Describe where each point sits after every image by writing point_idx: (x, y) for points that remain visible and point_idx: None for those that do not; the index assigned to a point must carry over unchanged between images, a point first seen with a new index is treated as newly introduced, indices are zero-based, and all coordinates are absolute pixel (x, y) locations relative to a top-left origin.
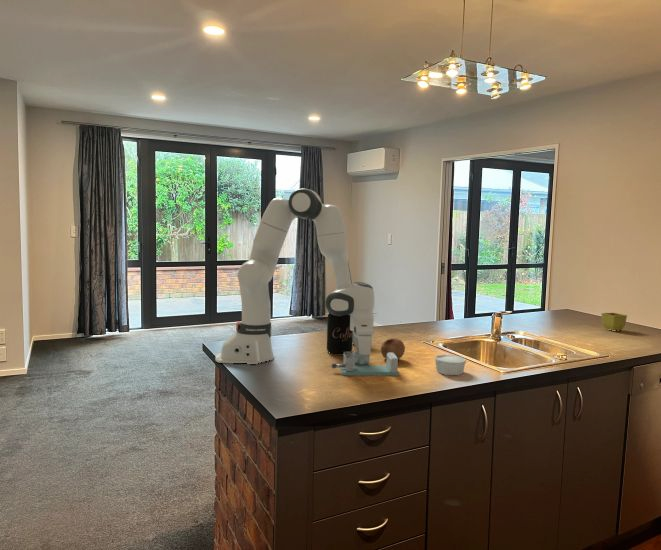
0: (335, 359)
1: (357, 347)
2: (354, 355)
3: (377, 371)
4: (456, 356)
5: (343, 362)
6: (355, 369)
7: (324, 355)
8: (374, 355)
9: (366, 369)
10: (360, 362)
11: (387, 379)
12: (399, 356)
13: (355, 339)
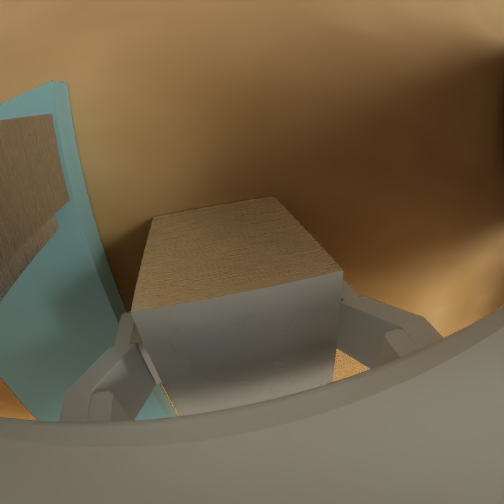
0: (419, 44)
1: (86, 485)
2: (140, 309)
3: (30, 402)
4: None
5: (30, 118)
6: None
7: (484, 4)
8: (455, 330)
9: (26, 350)
10: (122, 327)
11: (4, 409)
12: None
13: (496, 459)
